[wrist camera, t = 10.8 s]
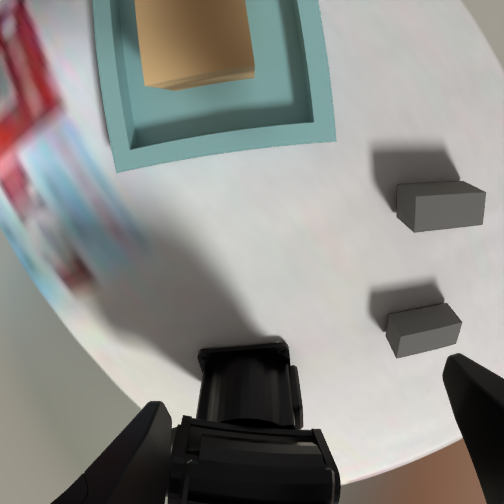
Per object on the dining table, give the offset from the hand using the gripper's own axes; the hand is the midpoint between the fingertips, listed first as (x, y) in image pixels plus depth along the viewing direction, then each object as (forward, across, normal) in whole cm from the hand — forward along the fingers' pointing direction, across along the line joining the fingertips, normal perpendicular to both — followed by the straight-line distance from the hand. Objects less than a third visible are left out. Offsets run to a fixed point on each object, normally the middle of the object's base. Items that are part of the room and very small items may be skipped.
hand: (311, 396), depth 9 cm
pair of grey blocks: (+11, -10, +3) cm, 15 cm away
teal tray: (+11, +2, -13) cm, 17 cm away
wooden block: (+10, +2, -13) cm, 16 cm away
